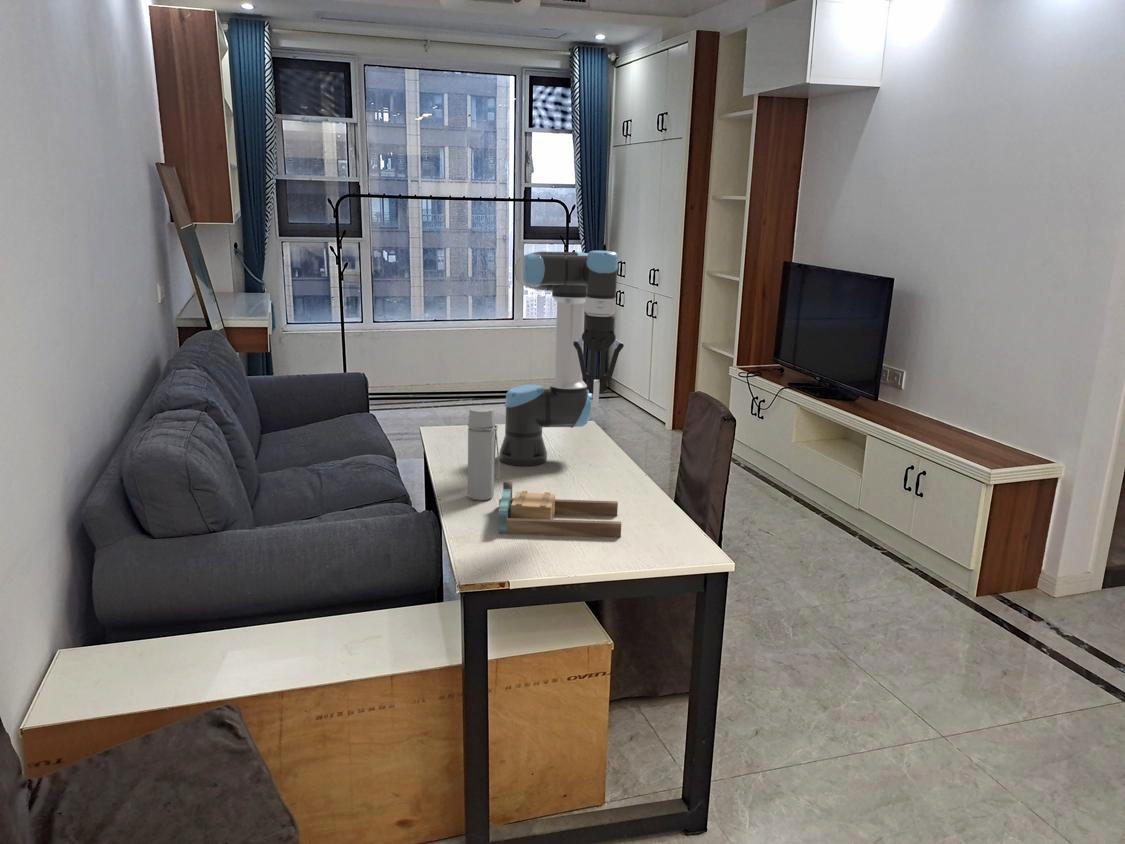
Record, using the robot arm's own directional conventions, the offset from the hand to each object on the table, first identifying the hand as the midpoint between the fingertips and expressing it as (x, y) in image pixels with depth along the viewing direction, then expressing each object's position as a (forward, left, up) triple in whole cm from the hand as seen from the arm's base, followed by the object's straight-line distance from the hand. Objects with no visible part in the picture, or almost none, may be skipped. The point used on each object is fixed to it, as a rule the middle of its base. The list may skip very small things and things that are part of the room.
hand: (595, 405), depth 214 cm
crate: (+9, -15, -29) cm, 34 cm away
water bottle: (-8, -29, -29) cm, 42 cm away
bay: (+8, -9, -29) cm, 31 cm away
